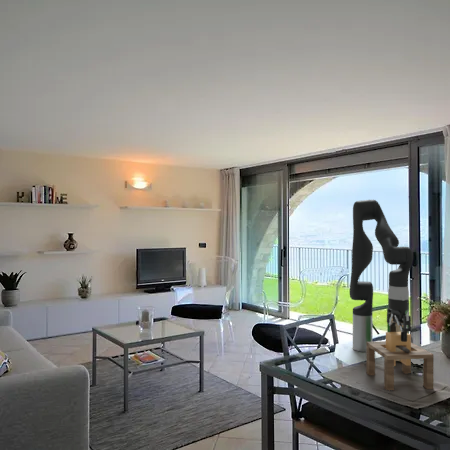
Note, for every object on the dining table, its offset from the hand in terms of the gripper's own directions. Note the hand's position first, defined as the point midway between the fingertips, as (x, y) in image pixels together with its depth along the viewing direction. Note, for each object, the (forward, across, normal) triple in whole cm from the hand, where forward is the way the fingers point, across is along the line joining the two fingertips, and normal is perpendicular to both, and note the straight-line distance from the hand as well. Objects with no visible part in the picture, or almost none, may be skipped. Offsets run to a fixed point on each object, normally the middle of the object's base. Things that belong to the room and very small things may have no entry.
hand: (398, 338), depth 165 cm
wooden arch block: (+10, 0, 0) cm, 10 cm away
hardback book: (+17, -27, +15) cm, 35 cm away
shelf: (+17, 0, 0) cm, 17 cm away
